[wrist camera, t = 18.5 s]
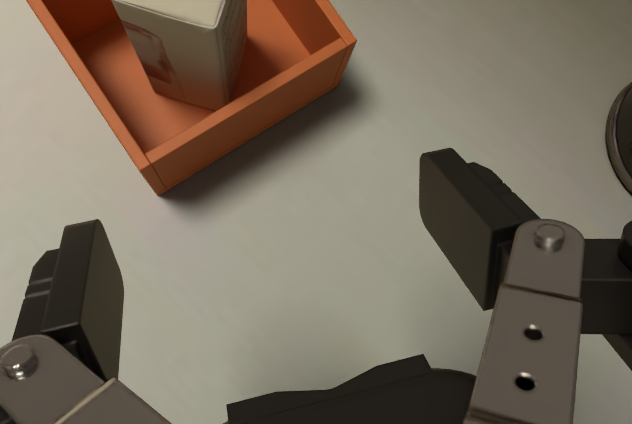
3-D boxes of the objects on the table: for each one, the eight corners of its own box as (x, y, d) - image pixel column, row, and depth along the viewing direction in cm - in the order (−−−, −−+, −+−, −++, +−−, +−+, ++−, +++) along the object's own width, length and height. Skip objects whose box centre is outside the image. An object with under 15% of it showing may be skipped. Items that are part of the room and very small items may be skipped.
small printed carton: (174, 13, 32) (143, -119, 22) (249, 35, 32) (252, -86, 22) (148, 97, 31) (103, -3, 21) (226, 118, 31) (218, 29, 21)
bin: (242, -52, 34) (242, -122, 28) (338, 85, 33) (357, 40, 28) (58, 46, 31) (19, -10, 26) (157, 196, 31) (139, 171, 25)
